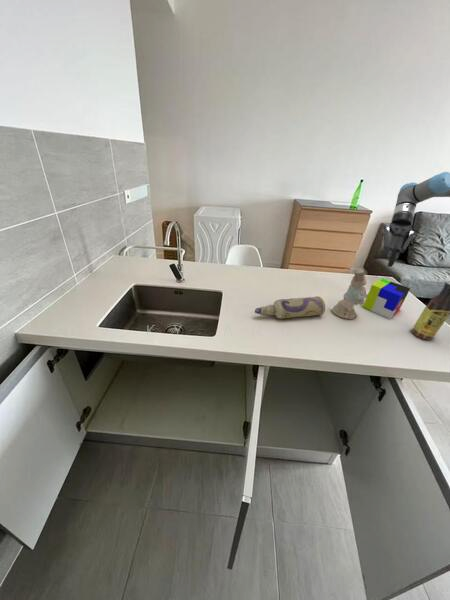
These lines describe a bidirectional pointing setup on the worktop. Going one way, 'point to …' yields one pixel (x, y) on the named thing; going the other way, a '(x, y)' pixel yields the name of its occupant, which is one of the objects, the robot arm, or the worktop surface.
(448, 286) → the sauce bottle
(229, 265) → the worktop surface
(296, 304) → the decorative bottle
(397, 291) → the puzzle toy
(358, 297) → the figurine
